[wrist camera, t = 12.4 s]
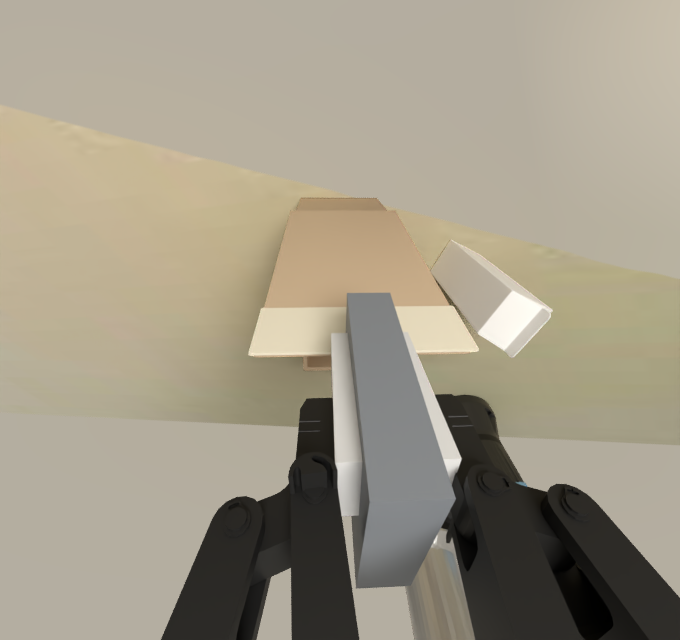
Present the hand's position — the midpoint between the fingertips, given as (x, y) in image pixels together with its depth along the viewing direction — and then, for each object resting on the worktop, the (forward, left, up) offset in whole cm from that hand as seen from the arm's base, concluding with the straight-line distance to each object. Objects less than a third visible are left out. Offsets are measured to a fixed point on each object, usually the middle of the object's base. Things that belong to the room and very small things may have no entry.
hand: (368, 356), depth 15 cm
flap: (-3, 0, -9) cm, 9 cm away
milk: (-9, -19, -36) cm, 42 cm away
